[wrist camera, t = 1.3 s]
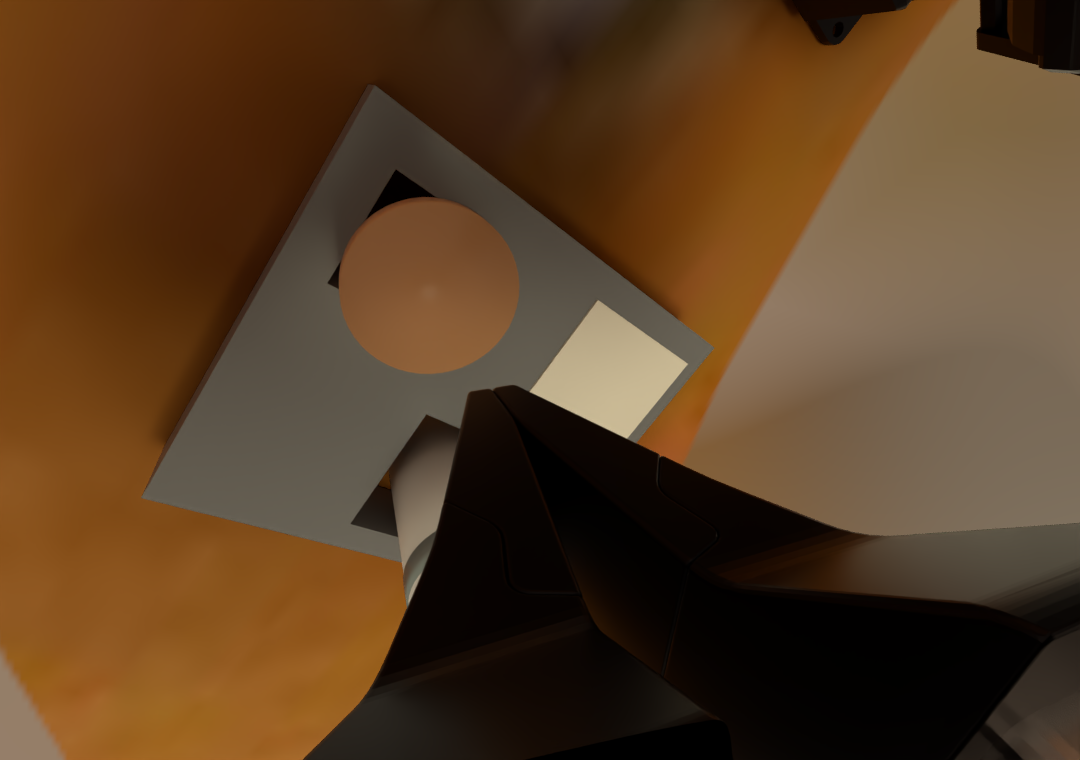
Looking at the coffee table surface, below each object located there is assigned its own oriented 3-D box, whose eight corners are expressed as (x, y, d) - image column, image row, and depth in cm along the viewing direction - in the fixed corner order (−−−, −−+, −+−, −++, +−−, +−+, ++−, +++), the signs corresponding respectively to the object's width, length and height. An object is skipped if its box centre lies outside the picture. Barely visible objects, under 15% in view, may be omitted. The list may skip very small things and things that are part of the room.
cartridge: (419, 391, 22) (460, 534, 15) (502, 429, 25) (570, 567, 18) (365, 470, 23) (381, 638, 16) (450, 499, 26) (495, 656, 19)
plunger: (388, 145, 15) (402, 161, 12) (514, 235, 18) (551, 267, 15) (308, 280, 16) (303, 325, 13) (438, 347, 19) (458, 398, 16)
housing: (368, 84, 16) (375, 85, 14) (676, 321, 25) (715, 348, 22) (164, 445, 20) (140, 499, 17) (498, 545, 28) (515, 591, 26)
